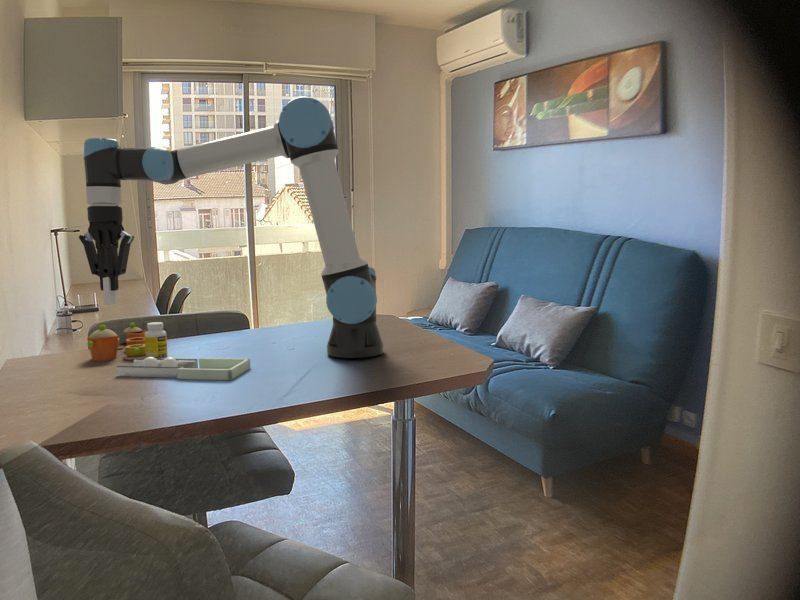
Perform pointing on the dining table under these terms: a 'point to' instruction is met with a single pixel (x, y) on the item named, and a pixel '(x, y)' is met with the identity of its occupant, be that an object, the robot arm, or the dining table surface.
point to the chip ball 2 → (169, 362)
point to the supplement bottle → (155, 340)
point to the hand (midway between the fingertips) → (110, 304)
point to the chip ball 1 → (150, 362)
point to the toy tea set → (116, 344)
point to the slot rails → (155, 368)
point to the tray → (215, 369)
